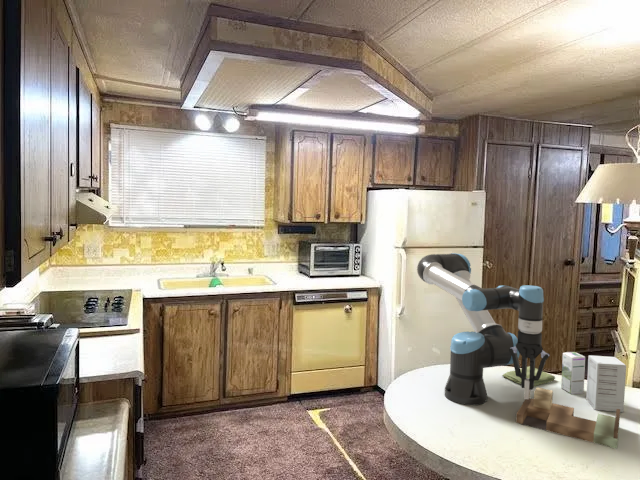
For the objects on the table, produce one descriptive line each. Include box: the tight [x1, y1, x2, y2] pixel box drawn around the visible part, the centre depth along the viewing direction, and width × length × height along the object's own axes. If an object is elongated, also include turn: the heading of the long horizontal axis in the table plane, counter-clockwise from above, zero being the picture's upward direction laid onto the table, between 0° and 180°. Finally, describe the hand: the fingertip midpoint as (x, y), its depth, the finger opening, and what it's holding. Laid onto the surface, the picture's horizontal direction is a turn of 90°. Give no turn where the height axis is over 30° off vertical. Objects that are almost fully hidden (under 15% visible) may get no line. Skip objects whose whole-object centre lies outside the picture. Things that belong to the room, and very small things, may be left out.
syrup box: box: [561, 351, 586, 395], centre depth 179 cm, size 6×6×14 cm
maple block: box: [533, 386, 554, 410], centre depth 160 cm, size 5×5×5 cm
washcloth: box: [502, 365, 556, 387], centre depth 191 cm, size 13×18×3 cm
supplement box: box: [585, 354, 627, 413], centre depth 166 cm, size 10×9×17 cm
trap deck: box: [515, 397, 621, 450], centre depth 152 cm, size 28×16×6 cm, turn 56°
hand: (527, 397), depth 163 cm, fingers closed
